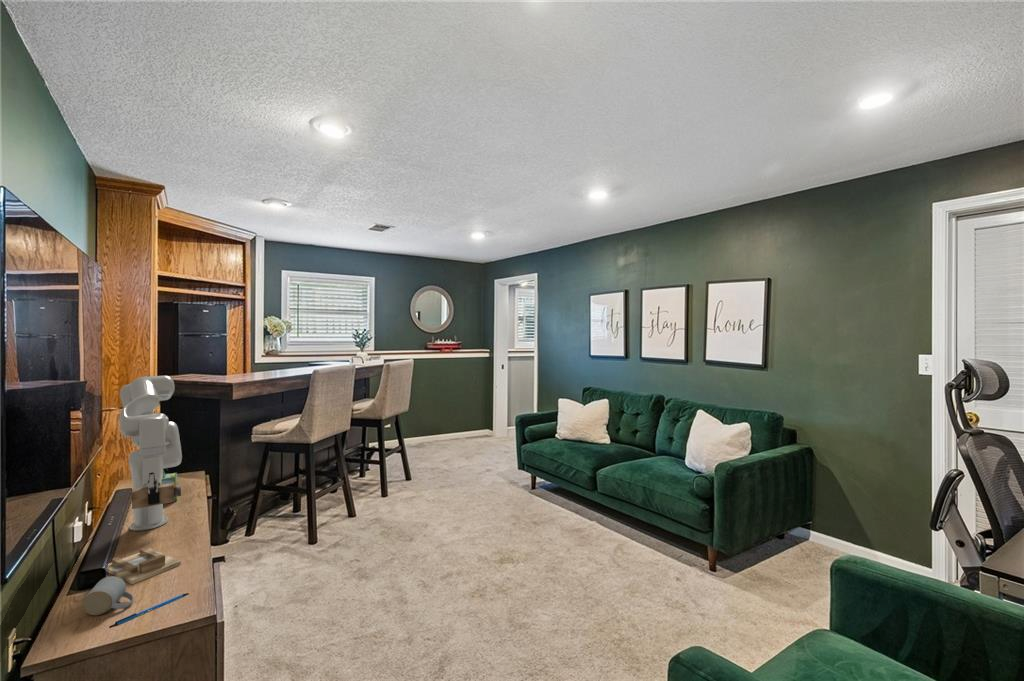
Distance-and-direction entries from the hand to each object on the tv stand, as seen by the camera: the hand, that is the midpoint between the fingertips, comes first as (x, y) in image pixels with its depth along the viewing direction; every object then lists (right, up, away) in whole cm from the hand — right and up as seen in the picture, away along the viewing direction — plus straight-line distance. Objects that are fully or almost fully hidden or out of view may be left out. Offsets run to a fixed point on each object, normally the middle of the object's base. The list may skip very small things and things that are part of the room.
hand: (155, 501), depth 172 cm
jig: (+4, -18, -12) cm, 22 cm away
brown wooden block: (0, -1, 0) cm, 1 cm away
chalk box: (-33, -17, +51) cm, 63 cm away
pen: (+26, -19, -36) cm, 49 cm away
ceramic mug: (+13, -19, -35) cm, 42 cm away
